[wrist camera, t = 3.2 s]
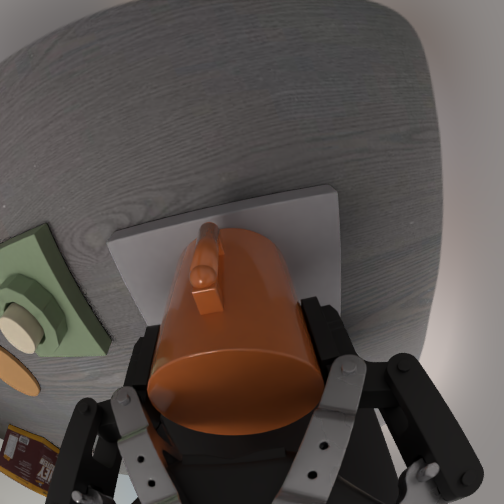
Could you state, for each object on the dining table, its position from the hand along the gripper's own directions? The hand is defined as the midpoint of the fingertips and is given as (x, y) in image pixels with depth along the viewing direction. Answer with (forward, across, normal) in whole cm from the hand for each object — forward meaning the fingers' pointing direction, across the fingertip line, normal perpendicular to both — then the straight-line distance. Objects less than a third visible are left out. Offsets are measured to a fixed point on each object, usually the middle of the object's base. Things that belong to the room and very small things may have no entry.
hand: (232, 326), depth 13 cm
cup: (+4, 0, 0) cm, 4 cm away
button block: (+5, +16, -1) cm, 17 cm away
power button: (+2, +16, -1) cm, 16 cm away
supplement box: (+6, +62, +40) cm, 74 cm away
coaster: (+5, +34, +9) cm, 36 cm away
